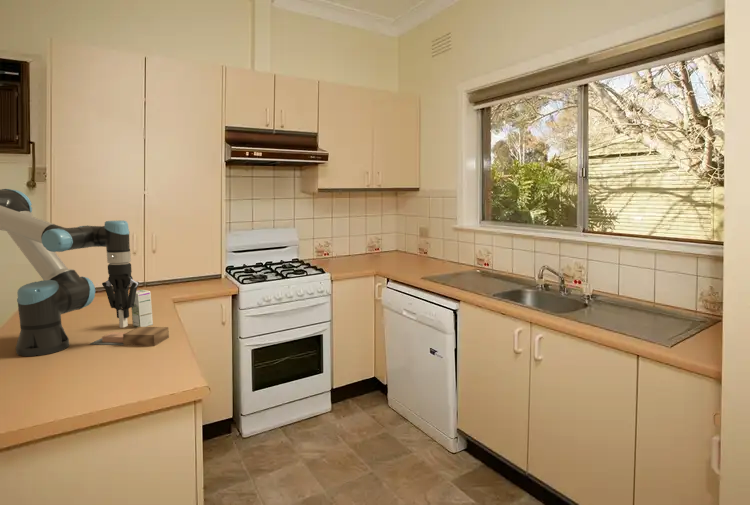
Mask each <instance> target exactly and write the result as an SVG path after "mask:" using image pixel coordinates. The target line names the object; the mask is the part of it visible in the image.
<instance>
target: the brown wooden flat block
mask: <svg viewBox="0 0 750 505" xmlns="http://www.w3.org/2000/svg"><path fill="white" fill-rule="evenodd" d="M168 338H170V334H169V326H147V327H135V328H133V329H131V330H129V331H127V333H125V334H123V342H124V345H123V346H135V347H136V346H138V347H139V346H142V347H143V346H145V347H155V346H157V345H159V344H161V343H162V342H163V341H165V340H167V339H168Z"/></svg>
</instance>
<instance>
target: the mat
mask: <svg viewBox="0 0 750 505" xmlns="http://www.w3.org/2000/svg"><path fill="white" fill-rule="evenodd" d="M89 345H96V346H98V345H100V346H125V345H124V343H118V342H102V337H101V338H99V339H97V340H95V341H94V340H93V342H90V343H89Z"/></svg>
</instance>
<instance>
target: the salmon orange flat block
mask: <svg viewBox="0 0 750 505" xmlns="http://www.w3.org/2000/svg"><path fill="white" fill-rule="evenodd" d="M127 332H128V331H127ZM127 332H123V331H122V332H121V331H112V332H109V333H107V334H105V335H103V336H101V338H102V342H118V343H124V342H123V334H125V333H127Z"/></svg>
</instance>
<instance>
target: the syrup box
mask: <svg viewBox="0 0 750 505" xmlns="http://www.w3.org/2000/svg"><path fill="white" fill-rule="evenodd" d="M152 308H153V306H152V294H151V291H150V290H146V289H137V291H136V296H135V302H134V306H133V307H131V317H132V326H133V327H135V328H137V327H151V326H153V325H154V322H153V309H152Z"/></svg>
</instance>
